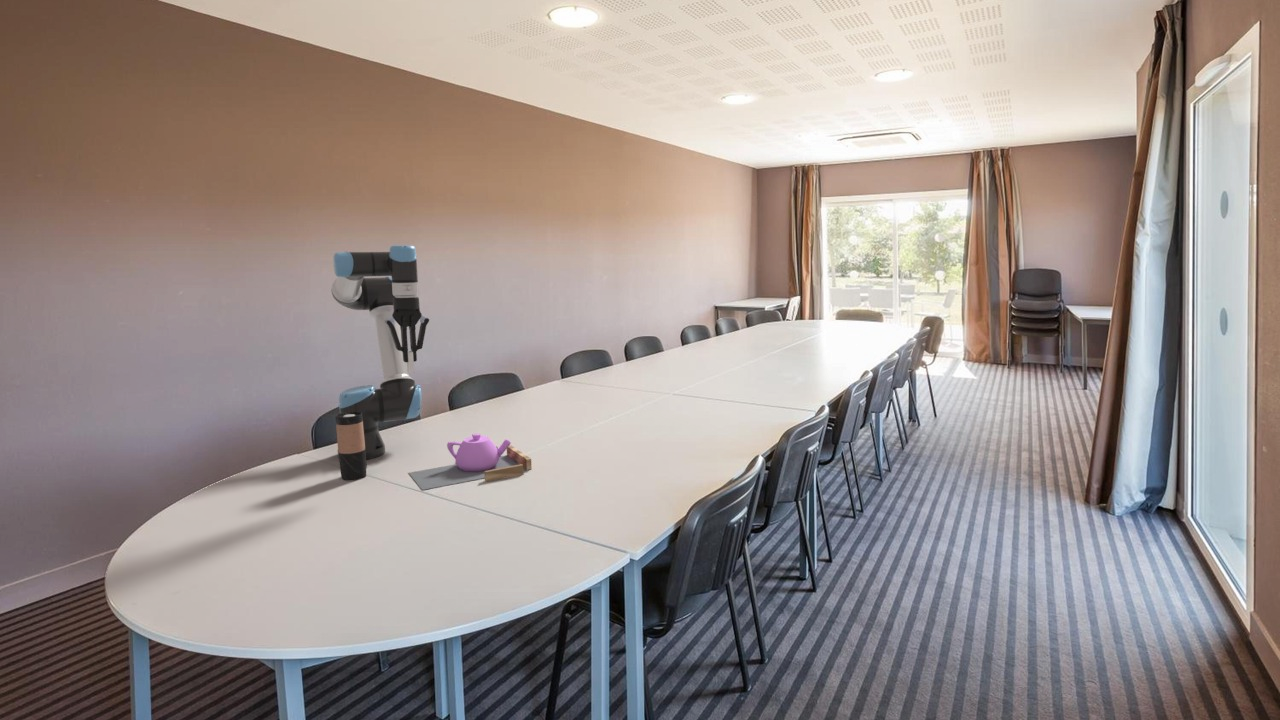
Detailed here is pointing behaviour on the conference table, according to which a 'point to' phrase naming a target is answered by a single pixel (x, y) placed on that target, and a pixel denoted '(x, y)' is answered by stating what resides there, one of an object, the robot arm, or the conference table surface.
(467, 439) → the teapot
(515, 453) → the bay
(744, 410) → the conference table surface
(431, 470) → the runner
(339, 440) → the travel mug
